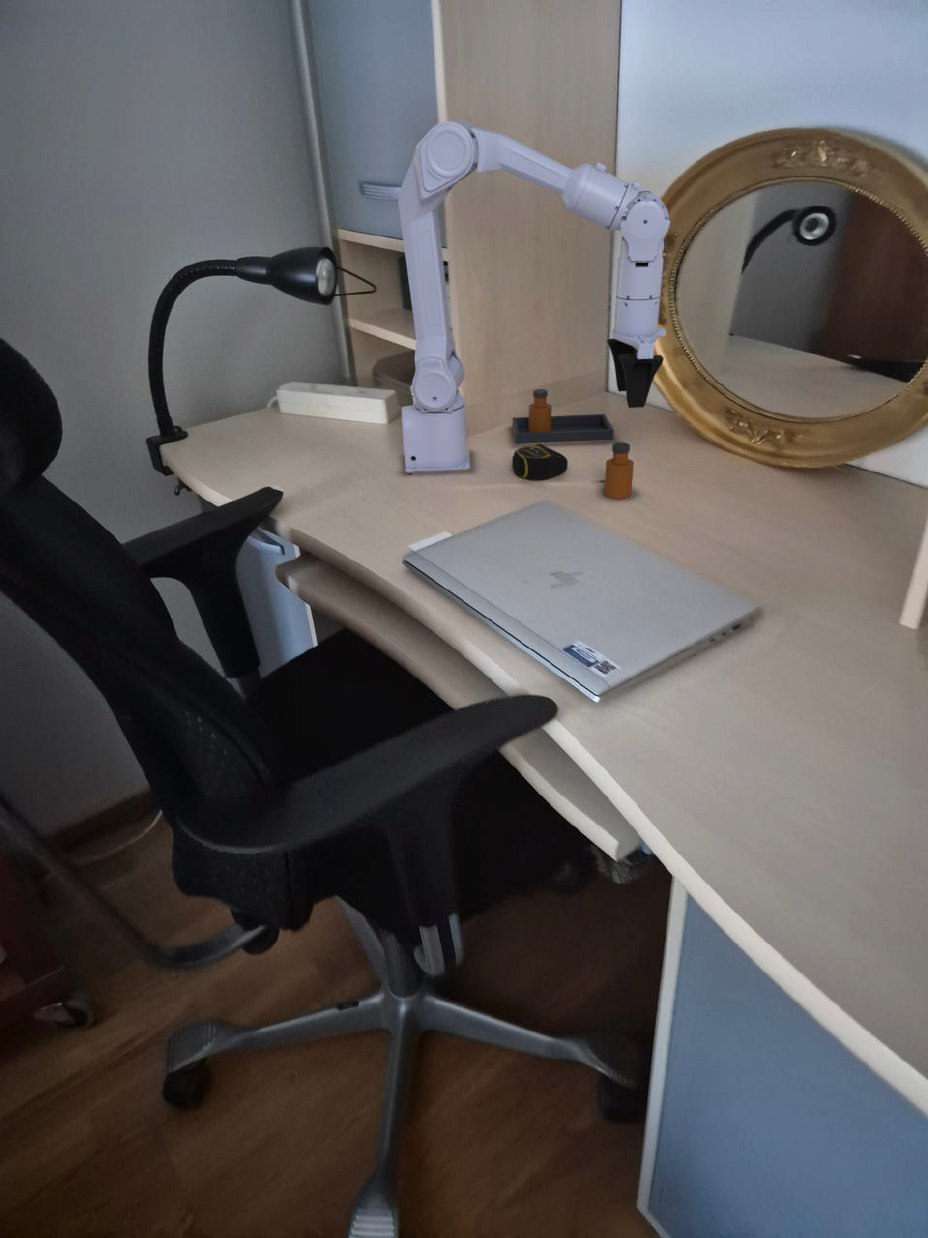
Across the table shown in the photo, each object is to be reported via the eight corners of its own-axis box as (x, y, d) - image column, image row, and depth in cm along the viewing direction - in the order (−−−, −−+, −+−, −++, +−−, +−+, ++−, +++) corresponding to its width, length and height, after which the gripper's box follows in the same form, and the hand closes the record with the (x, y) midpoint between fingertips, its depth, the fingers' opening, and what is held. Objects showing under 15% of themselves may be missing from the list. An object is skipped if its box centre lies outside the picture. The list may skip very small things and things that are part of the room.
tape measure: (569, 478, 115) (570, 453, 113) (528, 488, 112) (528, 463, 111) (543, 463, 120) (543, 439, 118) (503, 473, 118) (503, 448, 116)
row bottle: (529, 437, 129) (529, 394, 125) (527, 430, 132) (527, 387, 128) (552, 436, 129) (553, 393, 125) (549, 429, 132) (550, 387, 128)
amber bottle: (606, 499, 108) (609, 450, 105) (602, 489, 112) (605, 440, 108) (633, 498, 108) (637, 449, 105) (628, 487, 112) (632, 439, 108)
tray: (515, 446, 127) (515, 434, 126) (512, 429, 134) (512, 417, 133) (612, 442, 127) (613, 430, 126) (604, 425, 134) (605, 413, 133)
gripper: (682, 305, 100) (671, 413, 107) (656, 284, 112) (648, 382, 120) (625, 308, 100) (618, 415, 107) (605, 286, 112) (600, 384, 120)
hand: (630, 398), depth 113 cm, fingers open, 7 cm apart
